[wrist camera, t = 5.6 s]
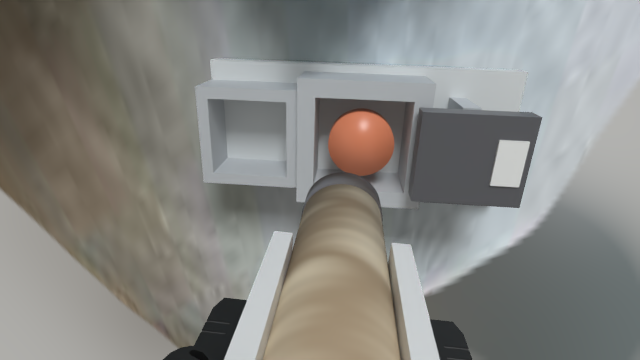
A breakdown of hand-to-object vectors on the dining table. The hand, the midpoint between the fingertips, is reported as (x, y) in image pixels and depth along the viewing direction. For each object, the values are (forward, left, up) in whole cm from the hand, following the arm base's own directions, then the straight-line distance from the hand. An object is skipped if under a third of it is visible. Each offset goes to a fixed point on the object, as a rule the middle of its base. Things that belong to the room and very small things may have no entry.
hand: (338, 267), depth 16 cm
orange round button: (+1, +1, -14) cm, 14 cm away
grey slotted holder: (+1, +1, -18) cm, 18 cm away
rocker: (+8, +1, -11) cm, 14 cm away
